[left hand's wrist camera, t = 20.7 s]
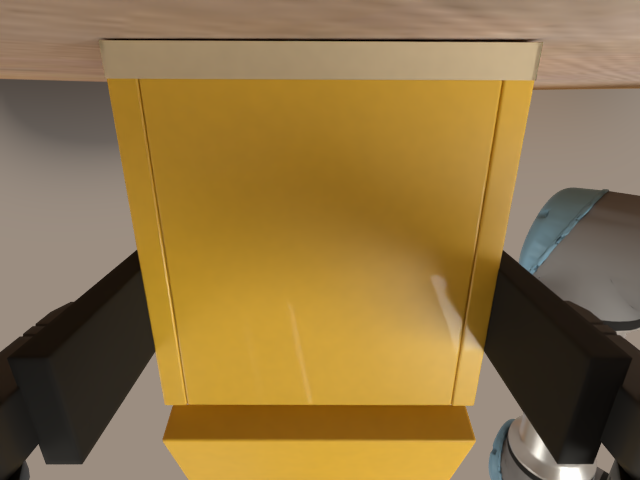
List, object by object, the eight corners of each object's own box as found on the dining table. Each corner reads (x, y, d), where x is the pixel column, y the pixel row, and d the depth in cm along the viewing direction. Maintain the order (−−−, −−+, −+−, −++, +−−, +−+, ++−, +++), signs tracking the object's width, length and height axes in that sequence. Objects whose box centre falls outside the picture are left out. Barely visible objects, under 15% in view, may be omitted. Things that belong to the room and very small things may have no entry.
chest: (395, 83, 24) (385, 233, 28) (244, 83, 24) (253, 232, 28) (543, 42, 8) (474, 406, 12) (98, 40, 8) (163, 406, 12)
